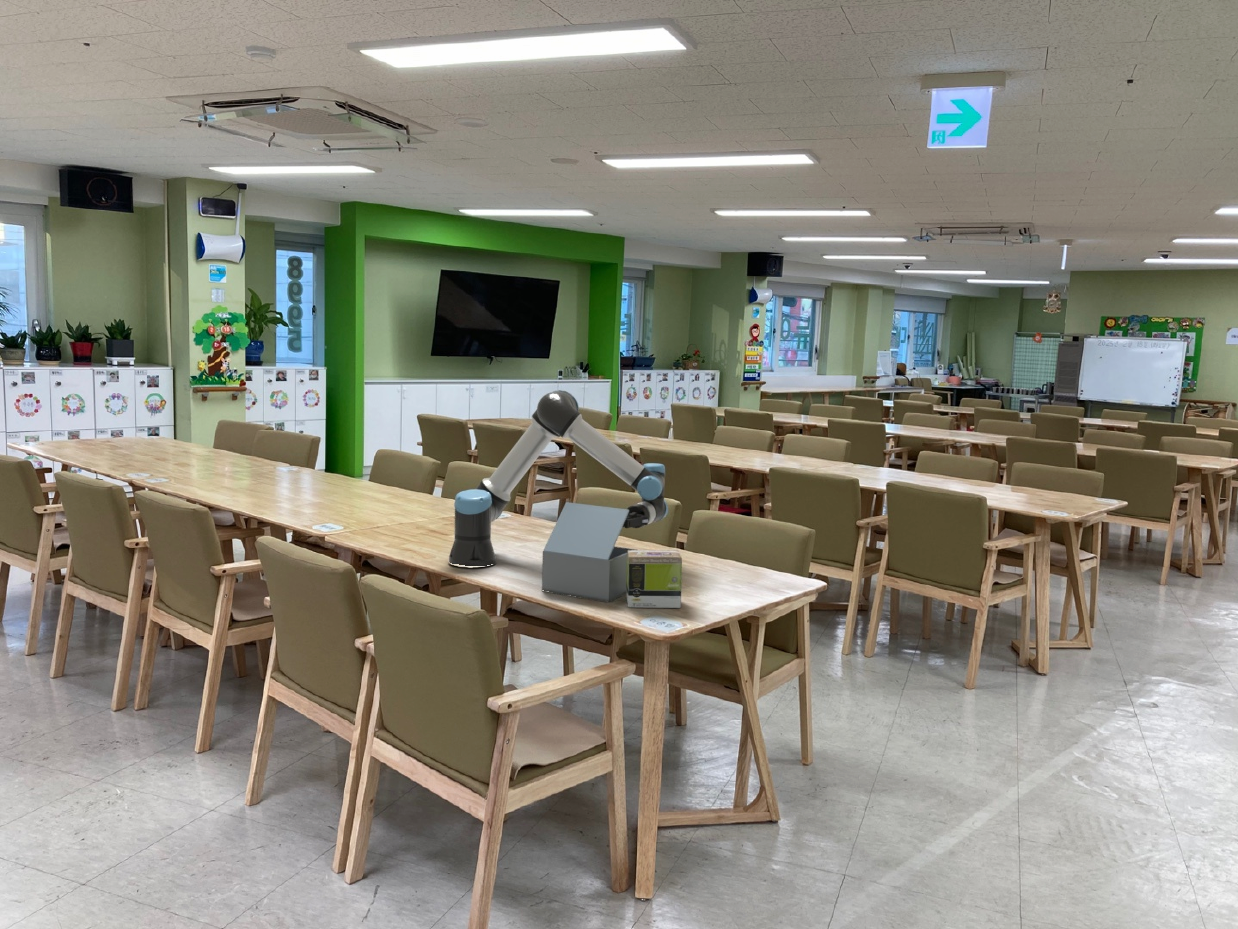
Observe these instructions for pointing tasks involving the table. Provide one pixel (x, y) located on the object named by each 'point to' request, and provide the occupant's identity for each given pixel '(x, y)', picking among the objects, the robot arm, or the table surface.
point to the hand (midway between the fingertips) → (606, 526)
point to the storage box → (586, 575)
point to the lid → (586, 531)
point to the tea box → (654, 578)
